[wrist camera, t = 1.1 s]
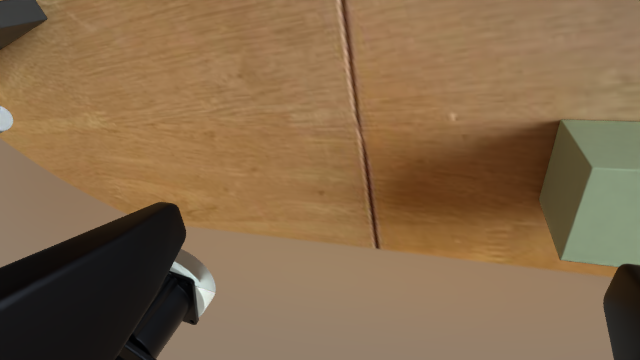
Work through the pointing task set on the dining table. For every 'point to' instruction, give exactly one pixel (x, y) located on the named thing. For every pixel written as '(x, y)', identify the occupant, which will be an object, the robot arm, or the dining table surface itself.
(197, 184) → the dining table surface
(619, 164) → the block
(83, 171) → the dining table surface
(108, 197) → the dining table surface
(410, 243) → the dining table surface
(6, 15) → the drawer
